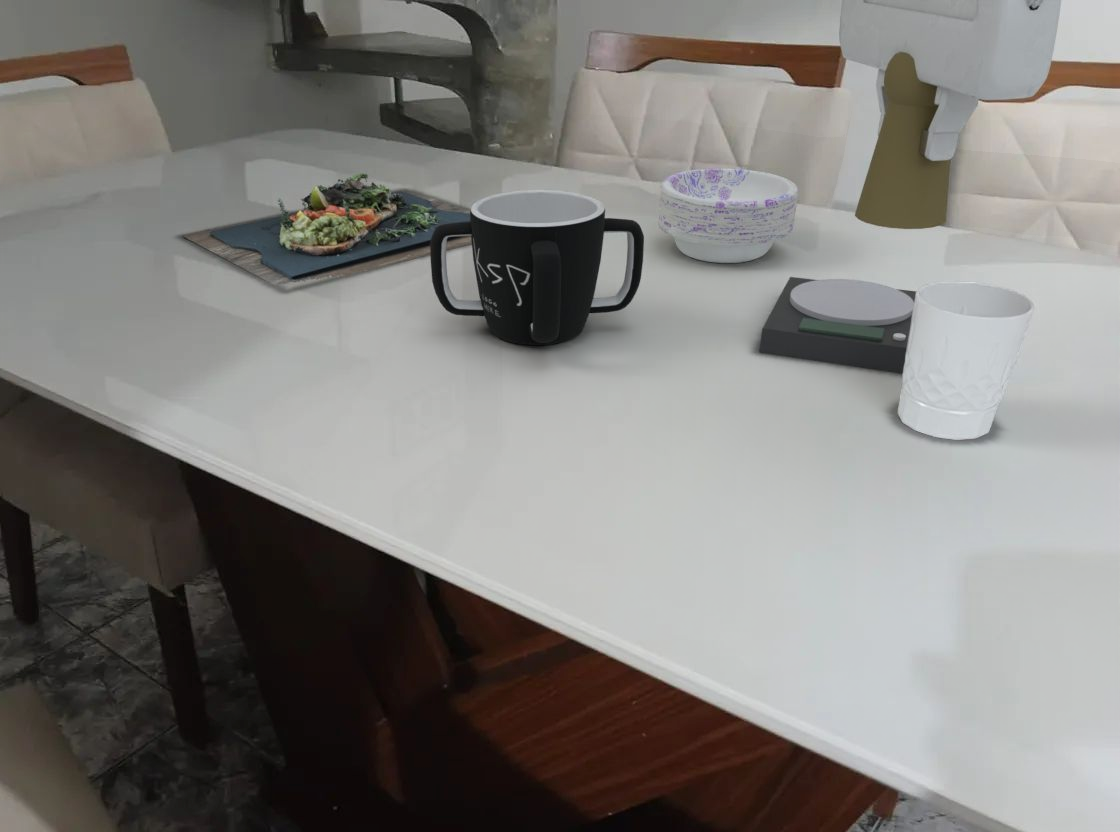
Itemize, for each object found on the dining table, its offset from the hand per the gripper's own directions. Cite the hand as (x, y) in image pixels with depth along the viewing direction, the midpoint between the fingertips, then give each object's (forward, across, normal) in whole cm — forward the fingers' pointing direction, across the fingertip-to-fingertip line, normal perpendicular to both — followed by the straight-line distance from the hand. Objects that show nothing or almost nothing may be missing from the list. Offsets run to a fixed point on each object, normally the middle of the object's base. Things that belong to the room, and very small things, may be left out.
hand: (912, 149), depth 66 cm
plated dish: (+20, +58, +40) cm, 73 cm away
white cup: (+21, -2, -6) cm, 22 cm away
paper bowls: (+21, +43, -3) cm, 47 cm away
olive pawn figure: (+5, 0, 0) cm, 5 cm away
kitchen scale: (+20, +16, -6) cm, 27 cm away
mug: (+20, +22, +23) cm, 37 cm away
